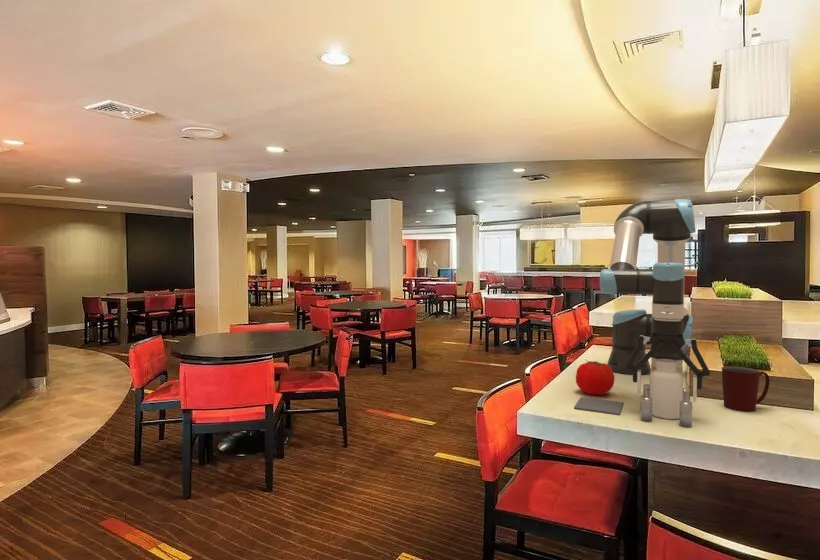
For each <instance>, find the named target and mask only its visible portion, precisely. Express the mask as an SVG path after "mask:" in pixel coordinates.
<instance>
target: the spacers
mask: <svg viewBox="0 0 820 560" xmlns="http://www.w3.org/2000/svg"><path fill="white" fill-rule="evenodd" d="M652 401H653V398H652V397H650V383H649V384H648V383H647V384H646V383H644V384H643V385H642V395H640V415H639V416H640V421H642V422H648V423H651V422H652V421H653V415H652ZM678 425H679V427H683V428H692V427H693V426H692V425H693V401H691V389H690V388H687V387H686V388H685V387H683V401H680V408H679V419H678Z"/></svg>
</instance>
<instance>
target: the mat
mask: <svg viewBox="0 0 820 560" xmlns="http://www.w3.org/2000/svg"><path fill="white" fill-rule="evenodd" d="M624 402H625V401H617V400H611V399H610V400H609V399H602V398H593V397H587V396H586V397H585V396H580V397H579V399H578V401H576V404H575V405H574V407H573V409H574V410H581V411H588V412H594V413H601V414H608V415H616V416H620V415H621V414H622V409H623V406H624Z"/></svg>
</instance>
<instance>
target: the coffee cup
mask: <svg viewBox="0 0 820 560" xmlns="http://www.w3.org/2000/svg"><path fill="white" fill-rule="evenodd" d="M657 359H670V360H675V361H677V371H679V372H680V373H681V374H682V375H683V368H684V366H683V363H684V360H683V359H682V358H681V357H680V356H679V355H678V354H677V353H676V354H673V355H672V354H667V353H666V354H660V353H659V352H656V353H655V354H654V355H653V356H652V357H651V358H650V360H651V361H650V362H651V364H650V371H652V370H654V369H657V368H656V367H655V366H656V365H655V360H657Z"/></svg>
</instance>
